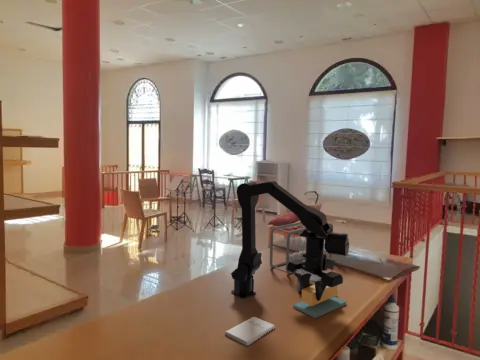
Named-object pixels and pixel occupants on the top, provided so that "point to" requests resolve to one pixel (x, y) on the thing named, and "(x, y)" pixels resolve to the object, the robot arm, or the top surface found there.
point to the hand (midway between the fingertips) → (312, 297)
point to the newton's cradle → (288, 256)
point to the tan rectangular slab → (310, 294)
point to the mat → (320, 307)
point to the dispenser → (312, 282)
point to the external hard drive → (249, 330)
